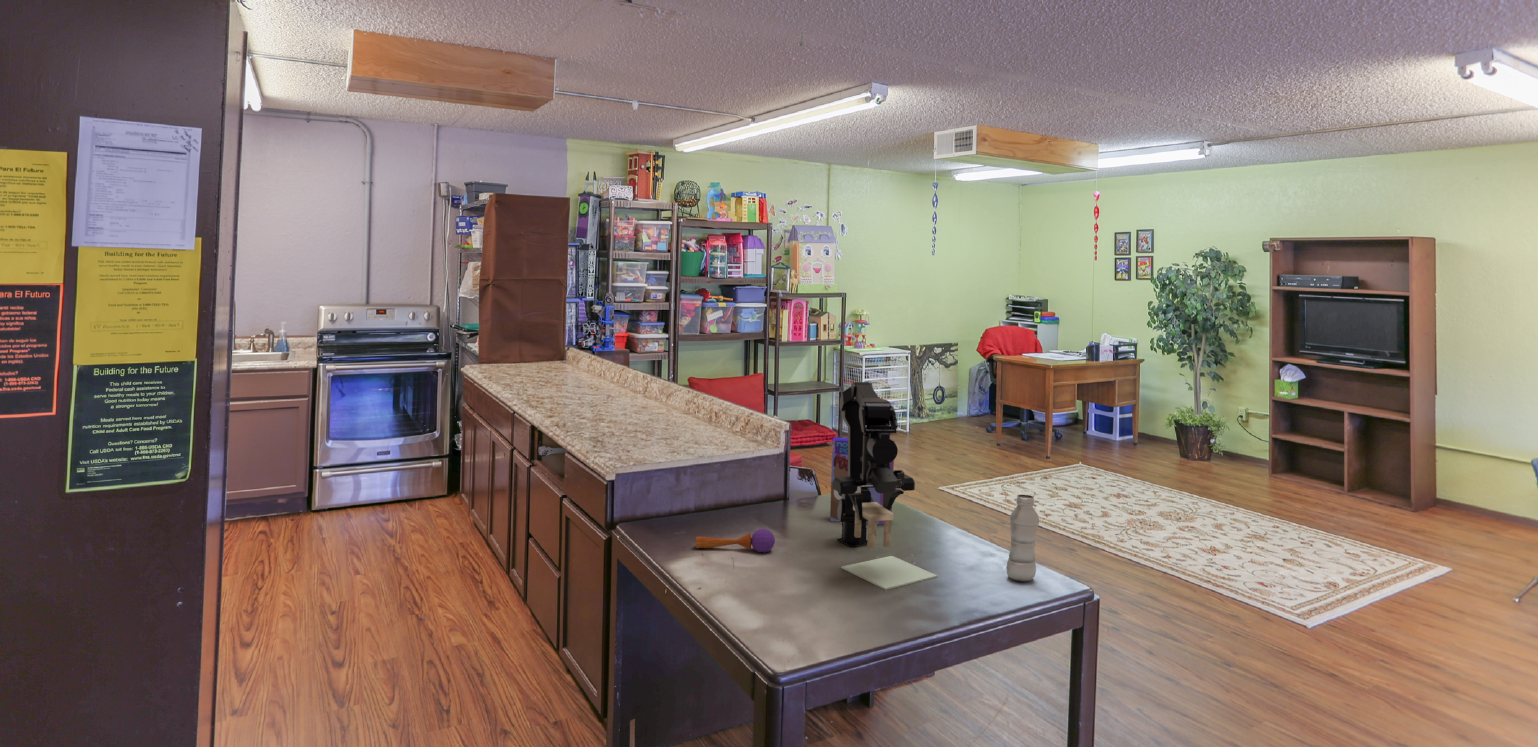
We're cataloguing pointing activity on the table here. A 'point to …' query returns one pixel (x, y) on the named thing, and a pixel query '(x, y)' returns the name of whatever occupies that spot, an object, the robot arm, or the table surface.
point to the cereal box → (842, 471)
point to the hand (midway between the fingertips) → (872, 519)
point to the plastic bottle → (1023, 540)
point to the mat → (889, 572)
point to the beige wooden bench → (874, 522)
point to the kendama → (741, 541)
